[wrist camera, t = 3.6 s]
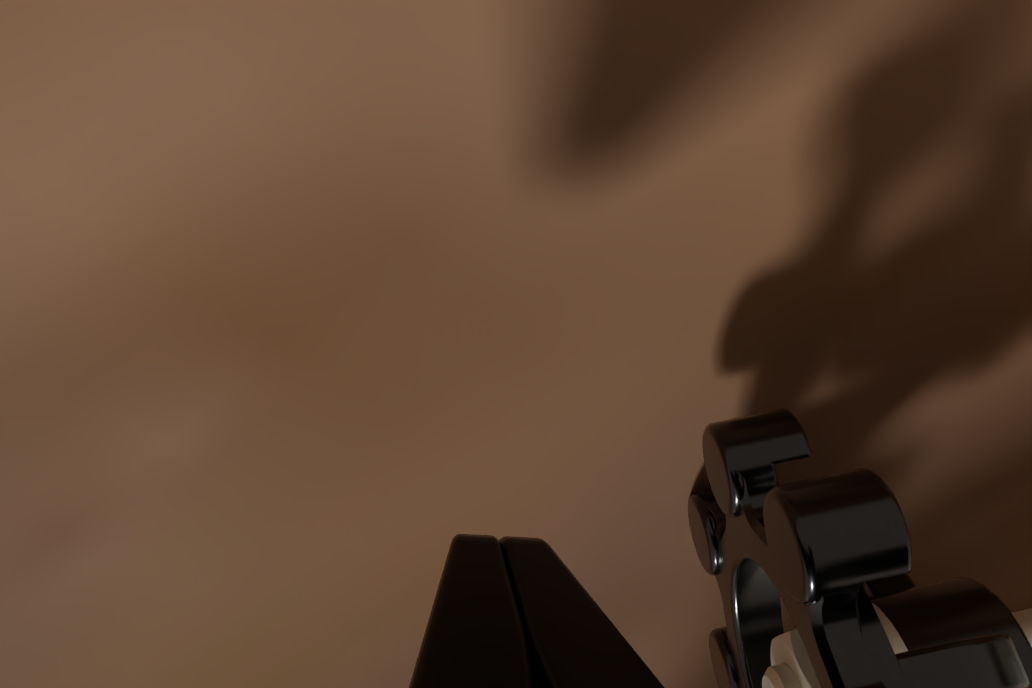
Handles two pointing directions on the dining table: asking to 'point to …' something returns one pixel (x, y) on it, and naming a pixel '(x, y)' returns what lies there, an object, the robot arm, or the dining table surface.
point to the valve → (834, 579)
